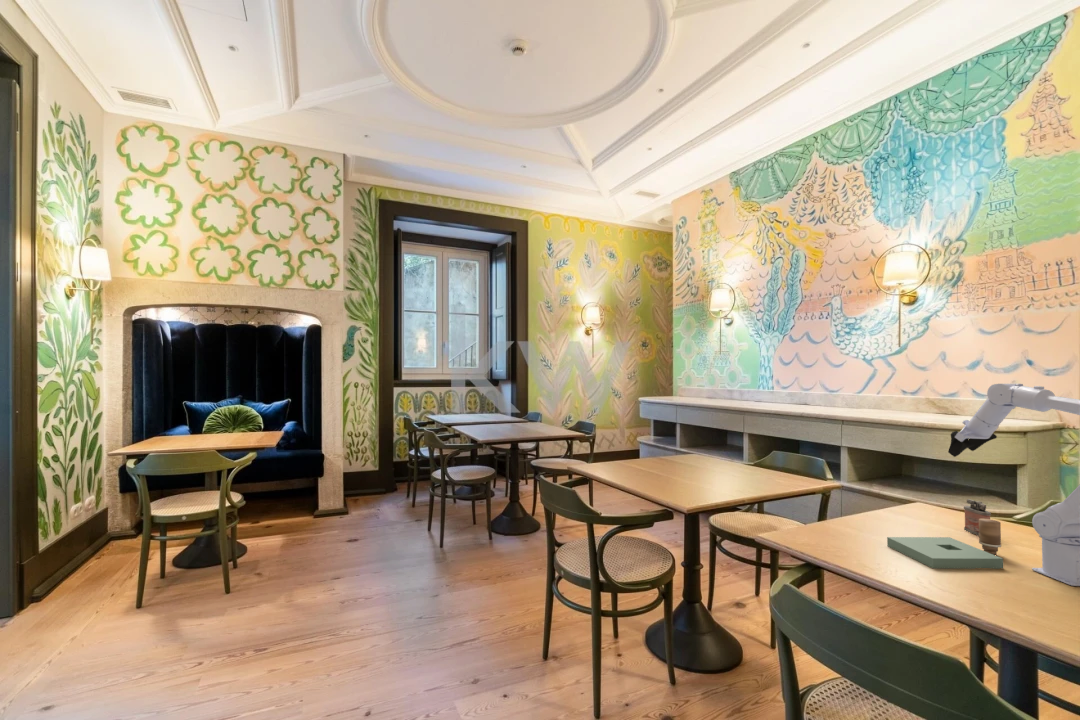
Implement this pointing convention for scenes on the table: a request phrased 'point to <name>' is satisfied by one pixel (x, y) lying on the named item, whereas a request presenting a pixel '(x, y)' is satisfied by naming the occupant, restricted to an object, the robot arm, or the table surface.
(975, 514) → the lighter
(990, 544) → the peg
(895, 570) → the table surface
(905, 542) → the board
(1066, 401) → the robot arm
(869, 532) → the table surface
